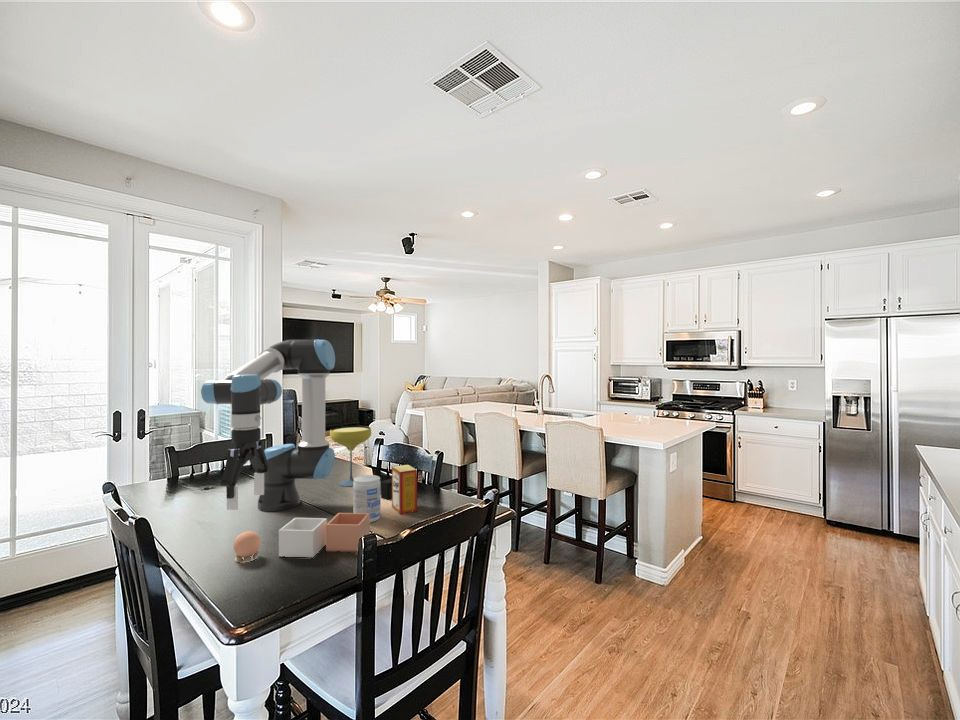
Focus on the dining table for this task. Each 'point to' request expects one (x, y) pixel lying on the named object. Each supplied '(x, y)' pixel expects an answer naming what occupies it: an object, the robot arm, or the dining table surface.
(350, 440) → the cocktail glass
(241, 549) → the ball
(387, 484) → the digital camera
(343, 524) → the terracotta open box
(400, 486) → the baking soda box
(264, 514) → the dining table surface
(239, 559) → the ball stand
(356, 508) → the supplement tub
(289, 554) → the white open box
